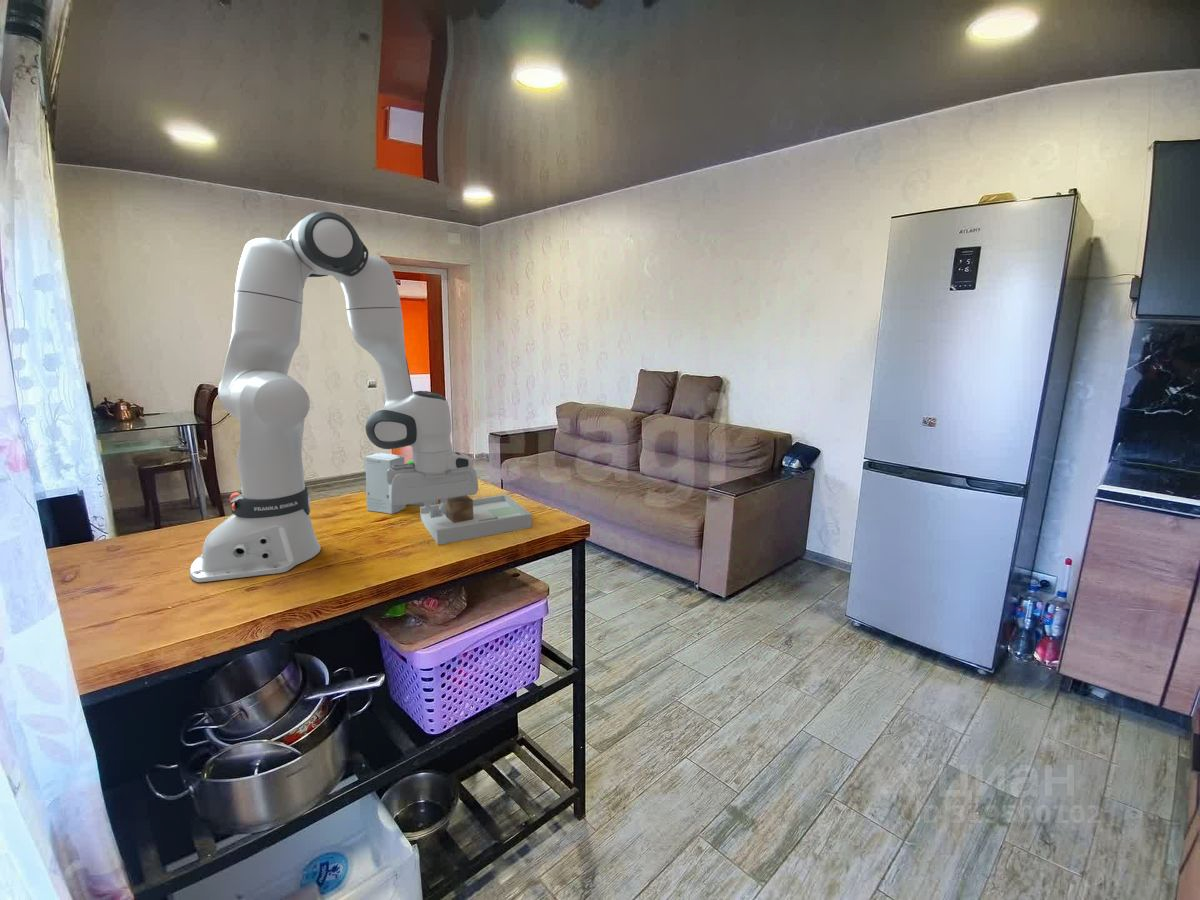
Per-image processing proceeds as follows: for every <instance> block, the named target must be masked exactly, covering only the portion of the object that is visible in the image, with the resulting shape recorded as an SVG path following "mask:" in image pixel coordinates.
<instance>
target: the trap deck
mask: <svg viewBox="0 0 1200 900" xmlns="http://www.w3.org/2000/svg"><path fill="white" fill-rule="evenodd" d="M471 499H472V500H473V519H472V520H467V521H462V522H457V523H453V522H452V521H450V520H449V519H448V518H447V517H446V506H445V508H444V510H443V516H442V517H435V518H430V516H429V510H428V508H427V507H426V506H420V507H419V511H420V513H419V515H420V521H421V522H422V525H424V527H425V529H426V530H427V531H428V533H429V534H430V535H431V536H432V539H433V540H434V541H435V543H436V544H437V545H445V544H451V543H456V542H461V541H467V540H473V539H477V538H481V537H488V536H492V535H493V536H494V535H498V534H504V533H508V532H514V531H520V530H521V531H522V530H525V529H532V527H533V525H532V524H533V523H532V518H533V516H532V513H531V512H529V511H528V510H527V509H526V508H524V506H522V505H521V504H519V503H518V502H516V501H515V500H514V499H513V498H511V497H510V496H509V495H507V494H505V493H503V494H499V495H492V496H484V497H477V498H471ZM440 504H441V503H439V504H438V503H437V504H436V505H430V507H431V509H436V508H439V506H440Z"/></svg>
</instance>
